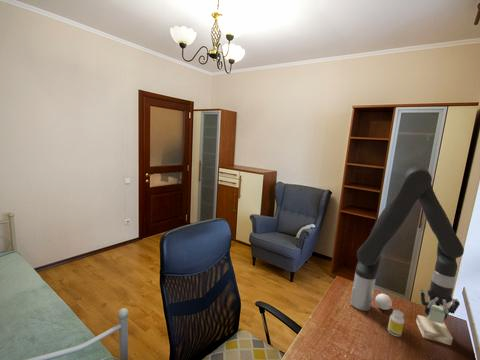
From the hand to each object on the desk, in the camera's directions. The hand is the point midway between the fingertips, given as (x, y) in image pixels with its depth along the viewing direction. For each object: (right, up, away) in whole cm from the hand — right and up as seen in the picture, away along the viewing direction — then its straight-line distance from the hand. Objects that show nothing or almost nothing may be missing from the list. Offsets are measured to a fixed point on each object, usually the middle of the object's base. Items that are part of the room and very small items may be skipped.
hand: (434, 316), depth 109 cm
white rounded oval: (-15, -5, +14) cm, 21 cm away
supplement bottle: (-18, -7, 0) cm, 19 cm away
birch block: (0, -8, +1) cm, 8 cm away
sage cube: (0, -1, 0) cm, 1 cm away
